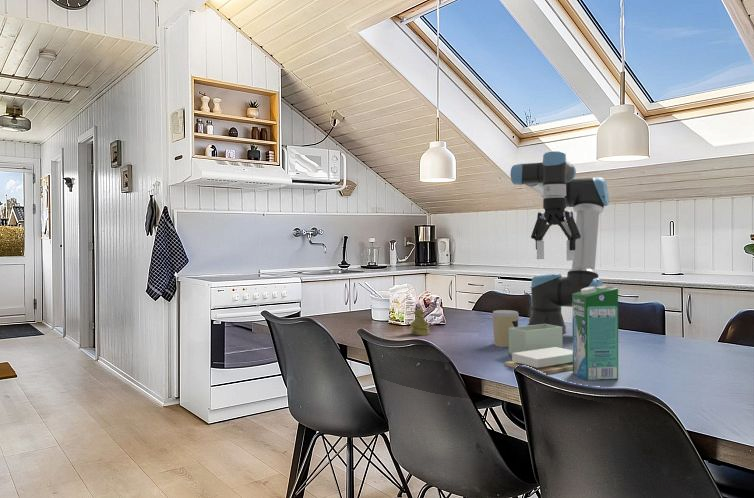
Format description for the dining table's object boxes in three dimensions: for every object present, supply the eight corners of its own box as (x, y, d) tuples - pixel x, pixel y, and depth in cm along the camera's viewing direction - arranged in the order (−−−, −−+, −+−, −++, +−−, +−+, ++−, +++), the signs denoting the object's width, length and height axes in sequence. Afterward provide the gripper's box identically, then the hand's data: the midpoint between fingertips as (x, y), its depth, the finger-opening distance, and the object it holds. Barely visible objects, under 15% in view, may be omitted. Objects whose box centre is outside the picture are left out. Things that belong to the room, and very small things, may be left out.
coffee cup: (519, 347, 204) (519, 313, 204) (492, 347, 206) (492, 313, 206) (518, 343, 213) (518, 310, 213) (492, 342, 215) (492, 309, 215)
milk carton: (572, 372, 167) (572, 285, 166) (603, 371, 168) (602, 284, 167) (586, 380, 158) (586, 288, 157) (618, 379, 159) (618, 287, 158)
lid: (555, 356, 185) (555, 346, 185) (582, 362, 176) (581, 352, 175) (512, 363, 176) (512, 353, 176) (537, 369, 167) (537, 359, 167)
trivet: (552, 357, 187) (552, 354, 187) (590, 366, 174) (590, 363, 174) (504, 365, 177) (504, 362, 177) (540, 375, 164) (540, 371, 164)
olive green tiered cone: (432, 334, 234) (432, 309, 234) (418, 336, 230) (417, 311, 229) (421, 332, 240) (421, 307, 240) (406, 334, 236) (406, 309, 235)
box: (544, 350, 200) (544, 323, 200) (562, 354, 193) (562, 326, 193) (508, 355, 192) (508, 327, 192) (526, 359, 185) (525, 331, 185)
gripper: (520, 199, 209) (521, 258, 209) (575, 194, 187) (575, 261, 187) (536, 199, 212) (536, 258, 213) (591, 195, 190) (592, 260, 191)
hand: (554, 259), depth 200 cm, fingers open, 13 cm apart
